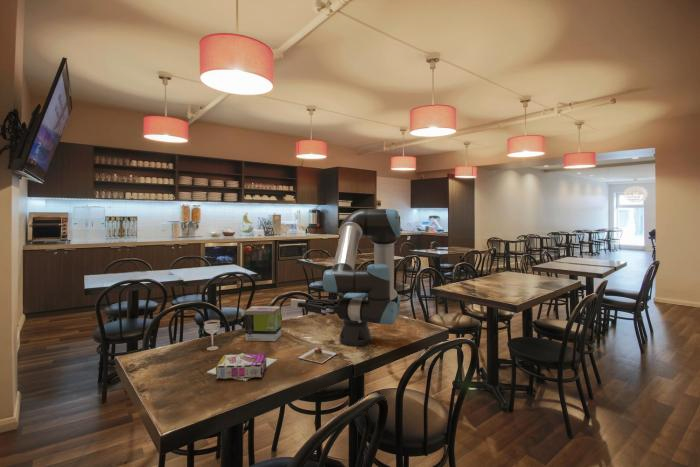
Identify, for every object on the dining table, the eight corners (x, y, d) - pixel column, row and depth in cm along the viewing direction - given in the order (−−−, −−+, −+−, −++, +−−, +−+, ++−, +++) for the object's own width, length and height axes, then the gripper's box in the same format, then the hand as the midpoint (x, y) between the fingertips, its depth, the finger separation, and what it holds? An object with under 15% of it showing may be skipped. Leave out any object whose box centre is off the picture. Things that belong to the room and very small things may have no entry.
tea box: (281, 335, 179) (281, 305, 178) (275, 342, 169) (275, 311, 168) (252, 334, 180) (251, 305, 180) (244, 341, 170) (244, 310, 170)
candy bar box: (262, 364, 130) (215, 366, 128) (262, 377, 130) (215, 380, 129) (266, 352, 141) (223, 354, 140) (266, 364, 141) (223, 366, 140)
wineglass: (215, 351, 157) (214, 324, 156) (201, 350, 158) (200, 323, 158) (223, 346, 164) (223, 320, 163) (210, 345, 165) (209, 319, 164)
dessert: (337, 355, 153) (337, 344, 153) (321, 365, 143) (321, 354, 143) (314, 350, 159) (314, 340, 159) (297, 360, 149) (297, 348, 149)
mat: (277, 360, 147) (277, 359, 147) (245, 381, 128) (245, 380, 128) (241, 354, 154) (241, 353, 154) (206, 373, 135) (206, 371, 135)
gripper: (344, 325, 116) (282, 317, 125) (358, 314, 128) (301, 308, 137) (344, 302, 116) (281, 296, 125) (358, 294, 128) (300, 289, 137)
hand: (291, 302), depth 131 cm, fingers closed
